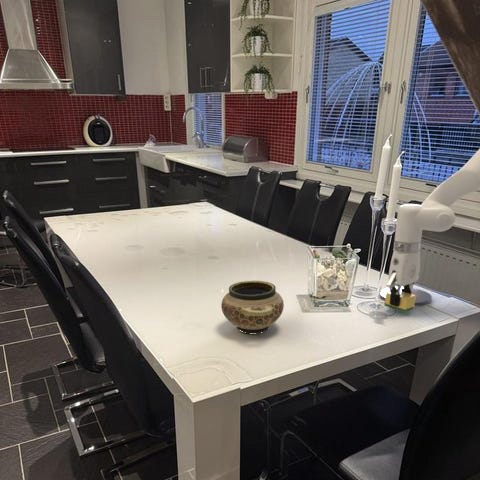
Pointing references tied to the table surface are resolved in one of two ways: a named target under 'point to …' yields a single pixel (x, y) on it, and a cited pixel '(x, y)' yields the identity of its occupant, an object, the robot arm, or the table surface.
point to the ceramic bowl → (252, 305)
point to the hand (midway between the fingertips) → (399, 302)
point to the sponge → (402, 301)
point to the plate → (421, 296)
